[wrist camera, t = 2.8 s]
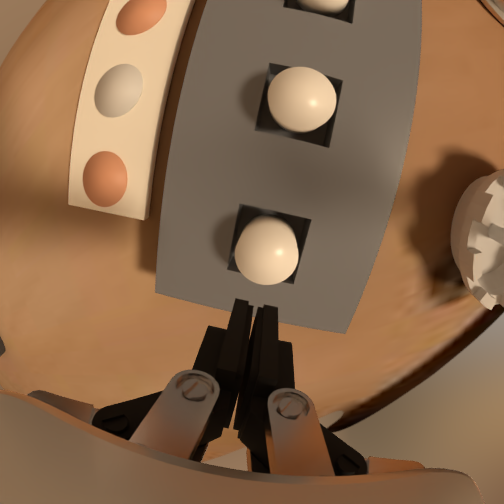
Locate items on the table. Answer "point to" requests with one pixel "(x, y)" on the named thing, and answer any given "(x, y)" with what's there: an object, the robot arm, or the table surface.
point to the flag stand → (481, 238)
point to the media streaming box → (1, 347)
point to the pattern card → (125, 105)
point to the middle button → (301, 99)
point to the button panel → (288, 153)
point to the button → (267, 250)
